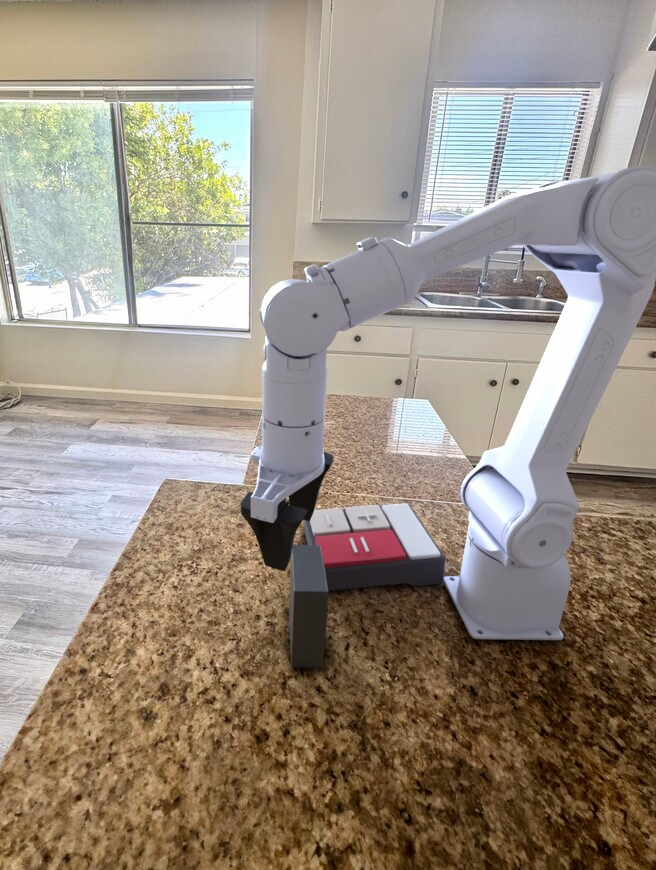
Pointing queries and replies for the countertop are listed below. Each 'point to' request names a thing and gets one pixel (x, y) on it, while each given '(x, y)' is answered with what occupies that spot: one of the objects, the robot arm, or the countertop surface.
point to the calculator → (375, 547)
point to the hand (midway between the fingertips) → (289, 539)
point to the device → (307, 606)
